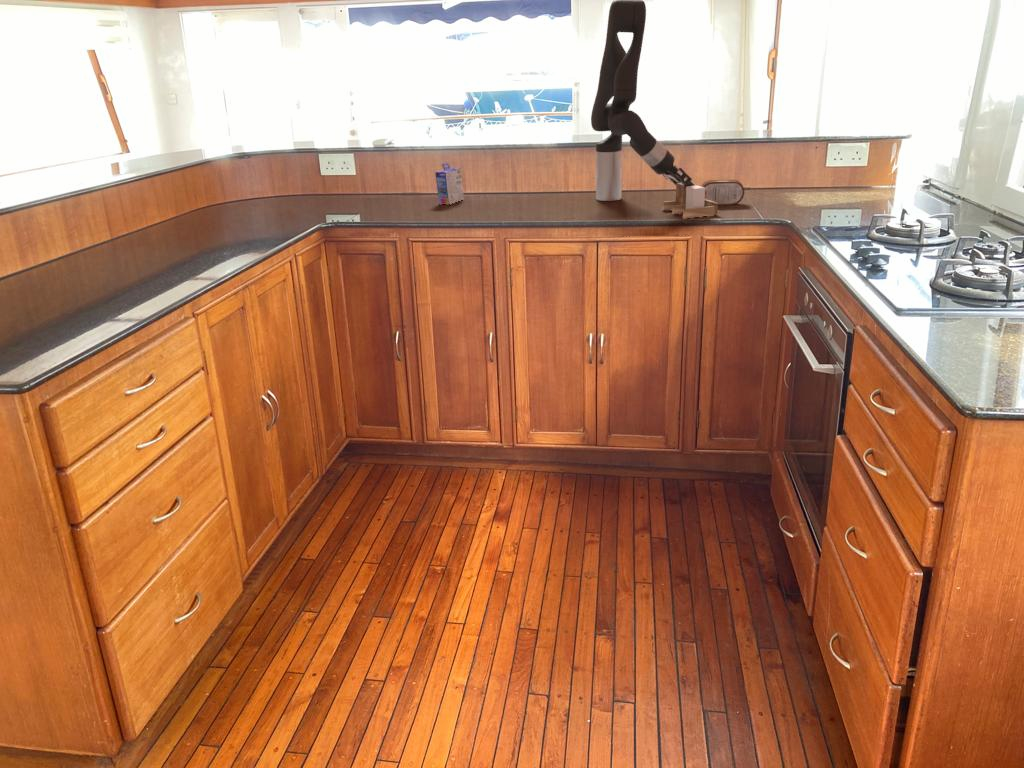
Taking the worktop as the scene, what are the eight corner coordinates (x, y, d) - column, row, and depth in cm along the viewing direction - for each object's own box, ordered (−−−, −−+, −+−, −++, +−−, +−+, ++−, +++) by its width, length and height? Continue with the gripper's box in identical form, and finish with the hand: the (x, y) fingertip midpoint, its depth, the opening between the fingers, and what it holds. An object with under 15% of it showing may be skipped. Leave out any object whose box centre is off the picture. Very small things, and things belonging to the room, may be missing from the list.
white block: (685, 214, 262) (686, 186, 259) (696, 213, 263) (697, 185, 260) (692, 217, 258) (693, 188, 254) (703, 215, 259) (705, 187, 255)
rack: (662, 210, 269) (662, 198, 268) (694, 207, 272) (694, 195, 271) (683, 219, 256) (684, 206, 254) (717, 215, 258) (717, 202, 257)
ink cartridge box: (452, 199, 308) (450, 161, 303) (464, 200, 306) (461, 161, 300) (437, 204, 301) (434, 165, 295) (449, 205, 298) (446, 165, 292)
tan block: (675, 210, 269) (676, 183, 266) (685, 209, 270) (687, 182, 267) (682, 213, 265) (683, 185, 261) (693, 211, 266) (694, 184, 262)
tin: (742, 203, 275) (744, 178, 272) (744, 205, 272) (746, 180, 269) (698, 204, 276) (699, 180, 273) (699, 206, 274) (700, 181, 270)
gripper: (675, 149, 252) (706, 182, 259) (654, 144, 264) (684, 175, 272) (659, 169, 253) (691, 200, 260) (639, 163, 265) (670, 193, 273)
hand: (687, 188), depth 266 cm, fingers open, 8 cm apart
